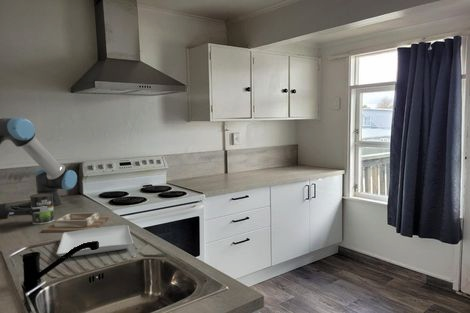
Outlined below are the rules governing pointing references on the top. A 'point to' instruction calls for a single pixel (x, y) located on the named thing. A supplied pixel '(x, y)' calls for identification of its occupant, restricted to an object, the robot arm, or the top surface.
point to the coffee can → (41, 201)
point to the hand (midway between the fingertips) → (46, 206)
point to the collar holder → (76, 222)
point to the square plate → (105, 236)
